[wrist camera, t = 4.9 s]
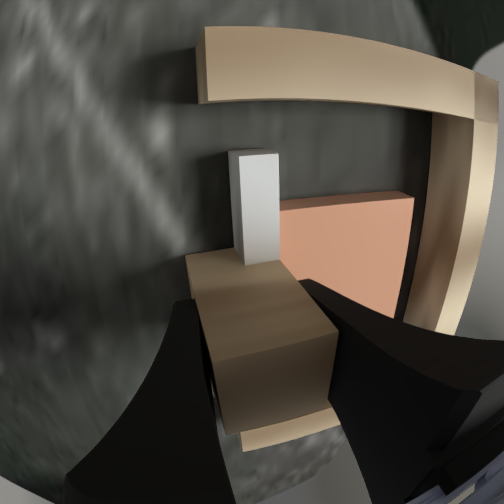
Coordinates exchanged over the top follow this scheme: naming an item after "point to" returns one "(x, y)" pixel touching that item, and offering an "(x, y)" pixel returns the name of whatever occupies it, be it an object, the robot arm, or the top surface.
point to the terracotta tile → (349, 244)
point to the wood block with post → (259, 311)
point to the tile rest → (383, 94)
